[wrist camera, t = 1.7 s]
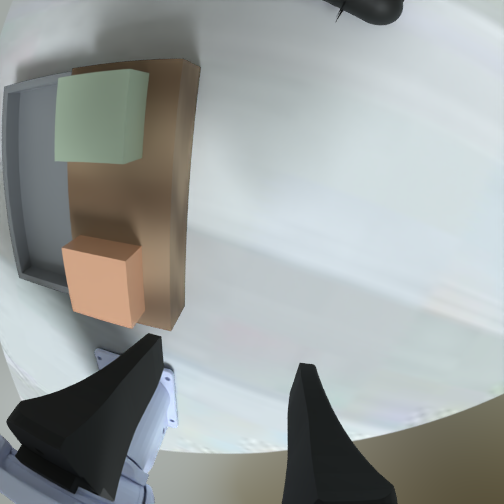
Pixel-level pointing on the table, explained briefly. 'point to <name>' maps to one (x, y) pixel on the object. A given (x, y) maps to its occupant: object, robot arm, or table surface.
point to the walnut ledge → (146, 187)
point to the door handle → (371, 9)
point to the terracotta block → (105, 279)
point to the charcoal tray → (35, 182)
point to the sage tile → (101, 116)
